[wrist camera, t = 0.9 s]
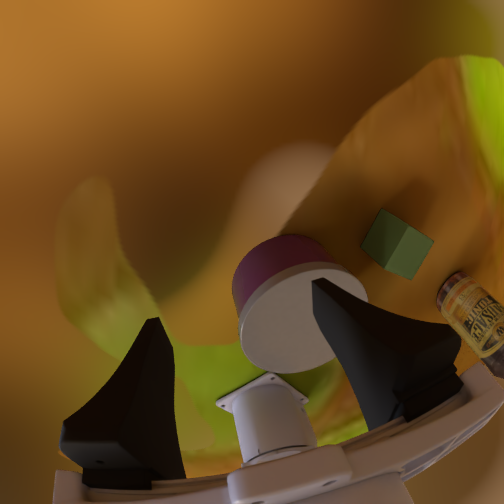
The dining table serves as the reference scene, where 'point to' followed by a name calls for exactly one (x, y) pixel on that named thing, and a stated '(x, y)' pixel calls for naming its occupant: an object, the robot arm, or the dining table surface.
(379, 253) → the block
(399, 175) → the dining table surface
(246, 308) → the jar
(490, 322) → the sauce bottle
